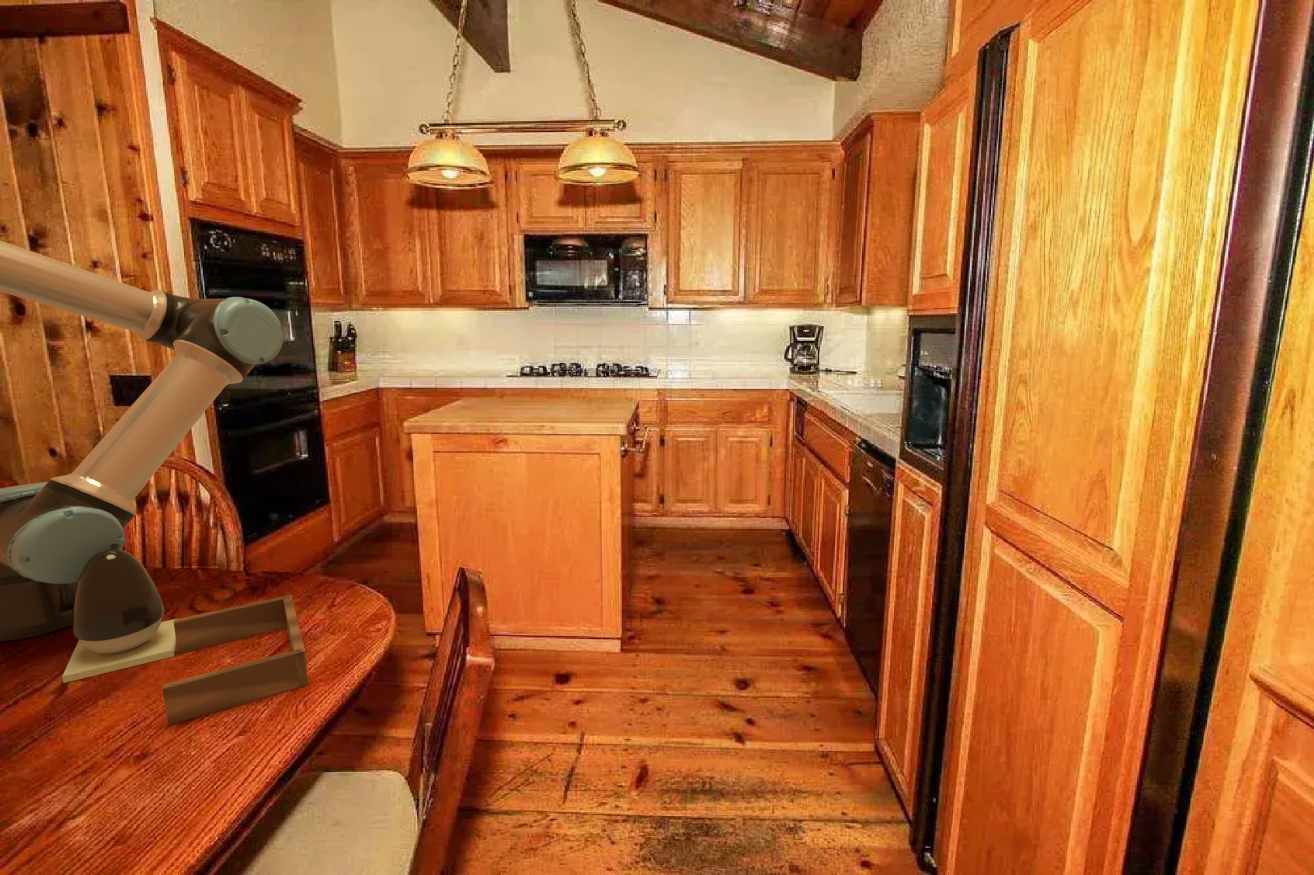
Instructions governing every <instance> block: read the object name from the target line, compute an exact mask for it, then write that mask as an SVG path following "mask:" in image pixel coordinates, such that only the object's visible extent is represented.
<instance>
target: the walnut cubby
mask: <svg viewBox="0 0 1314 875" xmlns="http://www.w3.org/2000/svg"><path fill="white" fill-rule="evenodd" d="M175 619H176V620H174V629H175V635H176V647H177V648H176V649H177V653H178V655H179V654H184V653H188V652H191V651H195V650H200V649H204V648H208V647H212V646H216V645H220V644H224V643H229V642H233V641H236V640H237V641H238V640H242V639H245V638H248V637H253V636H257V635H262V634H266V633H270V632H273V631H278V630H282V629H286V631H287V632H286V633H287V636H288V640H289V646H290V651H285V652H282V653H278V654H274V655H270V656H267V657H263V658H262V657H261V658H260V659H259V658H258V659H255V660H251V661H247V662H243V663H239V664H236V665H233V666H228V667H224V668H221V669H217V670H213V671H212V670H211V671H209V672H206V673H202V674H198V675H194V676H190V677H186V678H182V679H179V680H174V681H171V682H168V683H167V682H166V683H164V684H163V683H162V694H163V701H164V708H165V713H166V720H167V725H168V726H172V725H175V724H178V723H182V722H186V721H190V720H192V719H195V718H199V717H202V716H206V715H209V714H213V713H217V712H219V711H224V710H226V709H229V708H233V707H234V708H235V707H237V706H240V705H241V706H242V705H244V704H247V703H251V702H254V701H257V700H261V699H264V698H267V697H272V696H275V695H277V694H281V693H284V692H288V691H292V690H295V689H299V688H302V687H305V686H308V685H310V683H309V674H308V666H307V664H308V663H307V656H306V650H305V646H304V641H303V637H302V633H301V628H300V624H299V621H298V617H297V613H296V609H295V605H294V600H293V597H292V594H289V595H284V596H279V597H274V598H270V599H266V600H265V599H264V600H261V601H256V602H250V603H247V604H242V605H237V606H232V607H227V608H223V609H222V608H221V609H220V610H219V609H218V610H214V611H210V612H205V613H200V614H196V615H191V616H186V617H182V618H175Z"/></svg>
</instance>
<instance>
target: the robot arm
mask: <svg viewBox="0 0 1314 875" xmlns="http://www.w3.org/2000/svg"><path fill="white" fill-rule="evenodd" d="M0 293H4V294H7V295H12V296H15V297H17V298H22V299H25V300H27V301H30V302H31V301H32V302H35V303H38V304H40V305H45V306H48V307H52V308H54V309H58V310H61V311H64V312H68V313H72V314H75V315H78V316H82V317H85V318H89V319H91V320H94V321H98V322H102V323H105V324H109V325H112V326H115V327H119V328H121V329H125V330H129V331H133V332H134V334H135V335H136V337H137V338H138V339H140V340H142V341H147V342H149V343H153V344H156V345H158V346H162V347H165V348H168V349H170V350H173V351H174V352H175V355H174V357H173V358H172V360H170V361H169V363H168V364H167V365H166V366H165V368H164V369H162V371H160V373H159V374H158V375H157V376H156V377H155V379H153V381H152V382H151V383H150V384H149V386H147V388H146V389H145V390H144V391H143V392H142V394H140V395H139V396H138V398H137V399H136V400H135V401H134V402H133V403H132V404H131V406H130V407H129V408H128V409H127V410H126V411H125V413H124V414H123V415H122V416H121V417H120V418H119V419H118V421H116V422H115V423H114V425H113V426H112V427H111V429H109V431H108V432H107V433H106V434H105V435H104V436H103V437H102V439H100V441H99V442H98V443H97V444H96V445H95V447H94V448H93V449H92V450H91V451H90V452H89V453H88V454H87V456H85V458H84V459H83V460H82V461H81V462H80V463H79V465H77V467H76V468H75V469H74V470H73V472H70V473H69V474H66V475H60V476H55V477H51V478H50V479H49V480H48V481H42V482H35V483H34V482H33V483H26V484H21V485H20V484H19V485H13V486H7V487H6V486H5V487H2V488H1V487H0V642H10V641H11V642H12V641H17V640H23V639H27V638H33V637H36V636H42V635H44V634H49V633H51V632H55V631H58V630H62V629H65V628H68V627H70V626H73V604H74V597H75V592H76V587H77V582H78V579H79V576H80V574H81V571H82V569H83V567H84V566H85V564H86V562H87V561H88V560H89V559H90V558H91V557H92V556H93V555H95V554H96V553H98V552H101V551H104V550H108V549H110V548H111V545H112V544H115V543H117V544H119V545H120V550H124V549H123V548H124V546H125V545H124V544H125V541H126V540H125V532H124V529H126V527H127V526H128V525H129V523H130V522H131V521H132V520H133V518H134V517H135V516H136V514H137V512H136V508H135V504H134V501H135V498H136V497H137V496H138V494H139V493H140V492H141V491H142V489H144V487H145V486H146V485H147V483H148V482H149V481H150V480H151V479H152V477H153V476H154V475H155V473H156V472H158V470H159V469H160V467H161V466H162V465H163V464H164V462H165V461H166V460H167V459H168V457H169V456H170V455H171V454H172V453H173V451H175V449H176V448H177V446H178V445H179V444H180V443H181V442H182V440H183V439H184V438H185V436H186V435H187V434H188V433H189V432H190V430H192V428H193V427H194V426H195V424H196V423H197V422H198V420H200V418H201V417H202V416H203V415H204V413H205V412H206V411H207V410H208V408H209V407H210V406H211V404H212V403H213V402H214V401H215V400H216V398H217V397H218V396H219V394H221V392H222V391H223V389H224V388H225V387H226V386H227V385H230V384H231V385H232V384H239V383H240V384H241V383H242V382H243V381H244V379H245V378H246V377H247V376H248V375H249V373H250V372H251V370H252V369H254V367H255V365H262V364H264V363H265V364H266V363H268V361H271V360H272V359H274V358H275V357H276V356H277V355H278V354H279V352H280V351H281V349H282V347H283V343H284V332H283V329H282V325H281V324H282V323H281V321H280V320H279V318H278V317H277V315H276V314H275V312H274V311H273V310H272V309H270V307H269V306H267V305H265V304H264V303H262V302H261V301H258V300H255V299H251V298H246V297H242V296H231V297H227V298H196V297H195V298H193V297H186V296H181V295H176V294H172V293H169V292H166V291H164V290H160V289H154V290H151V291H146V290H144V289H140V288H138V287H135V286H132V285H130V284H126V283H124V282H120V281H118V280H114V279H112V278H109V277H106V276H103V275H101V274H99V273H98V274H97V273H95V272H92V271H89V270H87V269H83V268H81V267H77V266H74V265H72V264H69V263H67V262H64V261H60V260H58V259H55V258H52V257H49V256H46V255H43V254H40V253H37V252H35V251H32V250H29V249H26V248H24V247H20V246H19V245H18V246H17V245H15V244H11V243H9V242H6V241H3V240H0Z"/></svg>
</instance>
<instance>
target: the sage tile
mask: <svg viewBox="0 0 1314 875" xmlns="http://www.w3.org/2000/svg"><path fill="white" fill-rule="evenodd" d="M176 619H177V618H174V619H169V620H165V621H161V624H160V626H159V628H158V630H157V632H156V633H155V634H154V635H153V636H152V637H151V638H150V639H149V640H148V641H146V642H145V643H143V644H141V645H139V646H137V647H135V648H133V649H130V650H127V651H123V652H118V653H98V652H94V651H91V650H89V649H88V648H86V647H85V646H84V645H83V644H82V643H81V642H80V640H79V639H78V641H77V643H76V646H75V648H74V650H73V652H72V654H71V655H70V656H71V657H70V659H69V661H68V663H67V665H66V666H65V670H64V672H63V674H62V676H61V678H62V682H63V684H64V683H65V684H66V683H70V682H73V681H78V680H81V679H86V678H90V677H94V676H98V675H103V674H106V673H110V672H116V671H118V670H122V669H123V670H124V669H126V668H133V667H136V666H140V665H143V664H148V663H151V662H156V661H160V660H165V659H168V658H172V657H174V656H175V651H176V647H177V642H176V635H175V629H174V620H176Z"/></svg>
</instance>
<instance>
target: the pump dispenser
mask: <svg viewBox="0 0 1314 875" xmlns="http://www.w3.org/2000/svg"><path fill="white" fill-rule="evenodd" d="M155 584H156V583H154V581H153V579H152V577H151V576H150V574H149V572H148V571H147V569H146V568H145V567H144V565H143V564H142V562H140V561H139V560H138V559H137V557H135V556H134V555H132V553H130V552H128V551H127V550H124V549H122V550H120V545H119V544H117V543H115V544H112V545H111V548H110V549H108V550H104V551H101V552H98V553H96V554H95V555H93V556H92V557H91V558H90V559H89V560H88V561H87V562H86V564H85V566H84V567H83V569H82V571H81V574H80V576H79V579H78V582H77V587H76V592H75V597H74V604H73V625H72V632H73V635H74V638H76V639H78V641H79V640H80V642H81V643H82V644H83V645H84V646H85V647H86V648H88V649H89V650H91V651H94V652H98V653H118V652H123V651H127V650H130V649H133V648H135V647H137V646H139V645H141V644H143V643H145V642H146V641H148V640H149V639H150V638H151V637H152V636H153V635H154V634H155V633H156V632H157V630H158V628H159V626H160V624H161V622H162V620H163V617H164V614H165V608H164V607H165V606H164V604H163V601H162V598H161V595H160V593H159V590H158V588H157V586H156V585H155Z"/></svg>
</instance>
